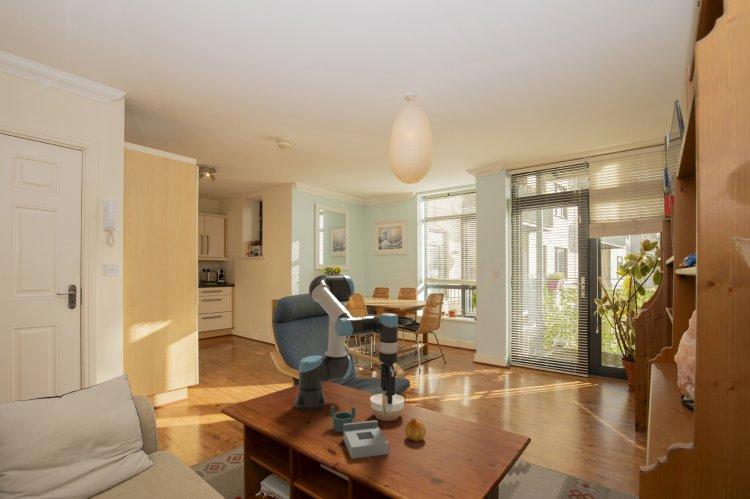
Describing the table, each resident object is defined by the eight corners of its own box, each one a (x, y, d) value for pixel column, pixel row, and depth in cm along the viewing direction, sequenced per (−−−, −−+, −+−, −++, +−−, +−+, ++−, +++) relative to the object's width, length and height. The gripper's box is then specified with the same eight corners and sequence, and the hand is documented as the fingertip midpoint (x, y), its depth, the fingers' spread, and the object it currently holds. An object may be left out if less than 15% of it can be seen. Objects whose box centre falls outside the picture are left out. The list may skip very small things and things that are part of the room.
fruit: (398, 434, 149) (409, 418, 149) (404, 428, 157) (414, 412, 156) (415, 449, 146) (426, 432, 145) (421, 442, 154) (431, 426, 153)
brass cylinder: (381, 412, 155) (381, 392, 156) (390, 411, 156) (390, 391, 157) (383, 415, 151) (384, 395, 152) (393, 414, 153) (393, 395, 153)
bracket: (356, 429, 160) (357, 407, 160) (337, 433, 155) (337, 411, 156) (347, 421, 167) (347, 401, 168) (328, 426, 163) (328, 404, 163)
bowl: (399, 425, 164) (399, 406, 164) (365, 420, 169) (365, 402, 169) (408, 412, 179) (408, 395, 179) (376, 407, 184) (376, 391, 184)
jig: (343, 439, 150) (343, 423, 150) (377, 435, 154) (377, 420, 154) (351, 458, 135) (351, 441, 135) (388, 453, 139) (388, 437, 139)
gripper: (374, 347, 162) (373, 402, 161) (385, 357, 146) (384, 418, 145) (390, 346, 164) (389, 400, 163) (403, 356, 148) (402, 416, 147)
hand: (387, 409), depth 154 cm, fingers closed on brass cylinder, 4 cm apart
